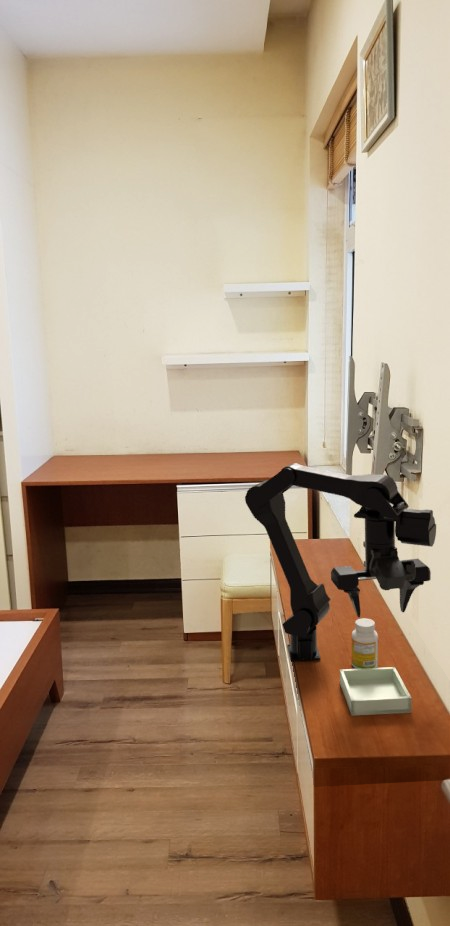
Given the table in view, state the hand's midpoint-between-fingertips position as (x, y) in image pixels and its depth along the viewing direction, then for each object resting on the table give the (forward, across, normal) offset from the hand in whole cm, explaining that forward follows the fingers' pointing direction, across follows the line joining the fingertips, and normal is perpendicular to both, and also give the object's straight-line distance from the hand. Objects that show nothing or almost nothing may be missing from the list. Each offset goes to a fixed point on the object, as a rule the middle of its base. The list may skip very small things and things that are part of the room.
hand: (380, 614), depth 133 cm
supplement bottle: (+13, -2, +3) cm, 14 cm away
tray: (+13, -5, -9) cm, 16 cm away
